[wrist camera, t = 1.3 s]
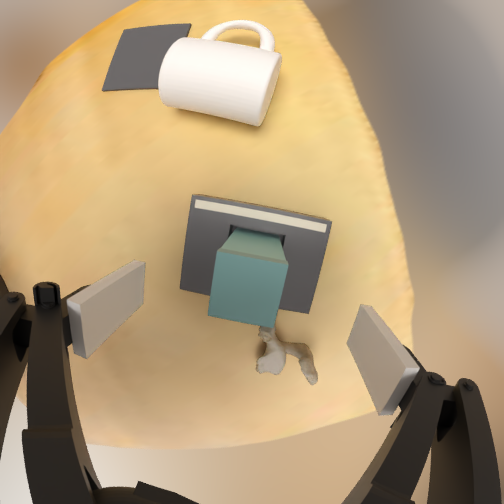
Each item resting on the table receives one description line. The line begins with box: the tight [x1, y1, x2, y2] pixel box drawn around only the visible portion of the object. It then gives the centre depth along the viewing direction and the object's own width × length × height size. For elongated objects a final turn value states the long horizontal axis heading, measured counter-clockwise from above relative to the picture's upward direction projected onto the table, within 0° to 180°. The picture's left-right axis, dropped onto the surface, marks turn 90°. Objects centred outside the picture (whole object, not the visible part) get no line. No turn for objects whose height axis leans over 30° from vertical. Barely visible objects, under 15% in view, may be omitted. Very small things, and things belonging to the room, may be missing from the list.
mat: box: [102, 24, 191, 91], centre depth 25 cm, size 10×10×1 cm
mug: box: [158, 20, 282, 126], centre depth 22 cm, size 12×10×8 cm
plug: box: [208, 227, 288, 328], centre depth 24 cm, size 5×5×12 cm
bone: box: [256, 324, 318, 385], centre depth 28 cm, size 9×6×10 cm
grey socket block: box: [180, 194, 332, 314], centre depth 28 cm, size 14×10×3 cm
